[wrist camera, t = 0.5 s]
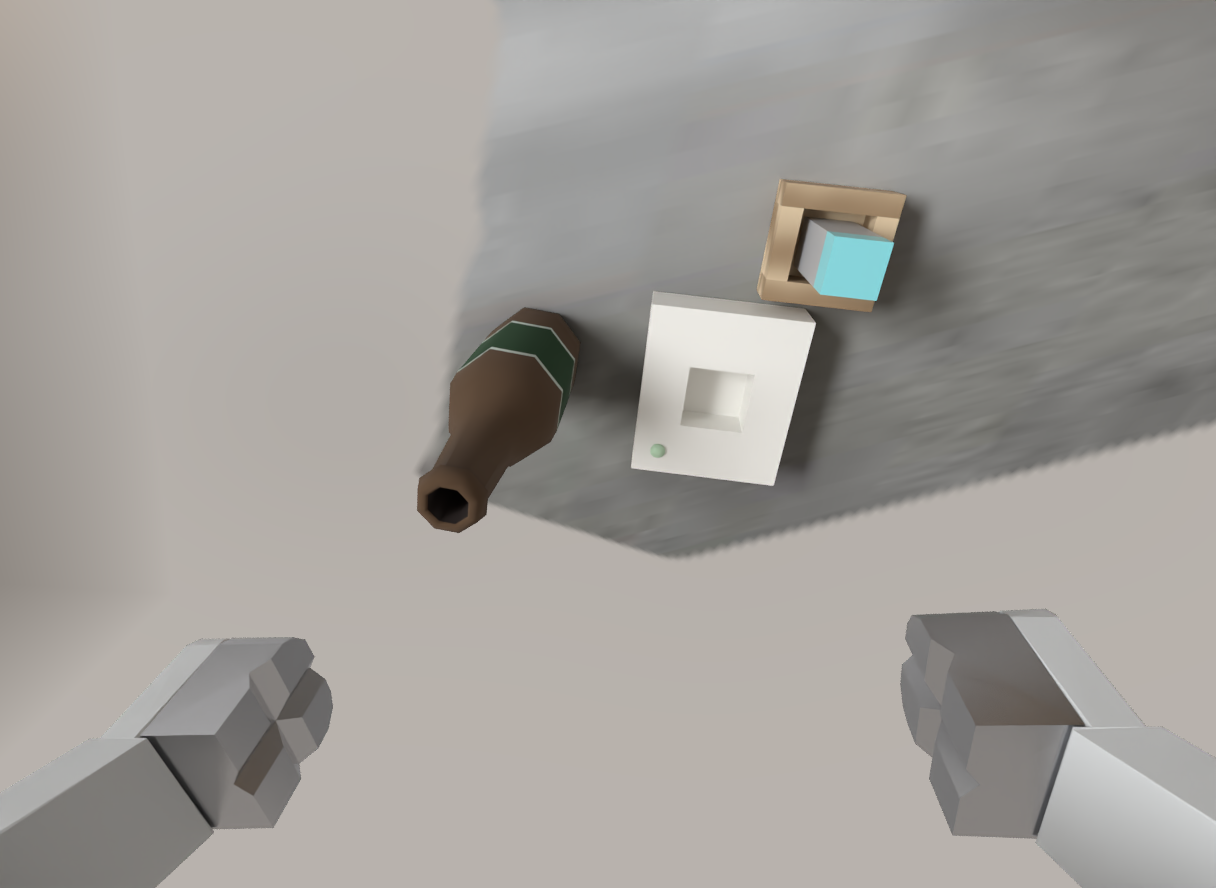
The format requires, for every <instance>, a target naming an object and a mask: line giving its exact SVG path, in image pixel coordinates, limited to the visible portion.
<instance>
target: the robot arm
mask: <svg viewBox="0 0 1216 888" xmlns="http://www.w3.org/2000/svg"><path fill="white" fill-rule="evenodd" d="M905 639H906V641H907V644H908V646H909V648H910V650H911V652H912V656H911V657H910V658H909V659H908V660H907V661H906V662H904V663H903V664H902V671H901V683H900V685H901V694H902V703H903V708H904V712H905V716H906V719H907V723H908V726H909V728H910V731H911V734H912V736H913V739H914V742H915V744H916V745H918V746H919V747H920V748H921V749H923V750H924V751H925V752H926V753H927V754H929V755H930V756H931V757H932V764H931V770H930V777H929V779H930V782H931V784H932V786H933V789H934V791H935V794H936V796H937V799H938V801H939V803H940V806H941V808H942V811H943V813H944V816H945V818H946V821H947V823H948V825H949V828H950V830H951V833H952V835H955V836H957V835H958V836H981V837H1007V838H1034V839H1036V844H1037V845H1038V846H1039V847H1040V848H1042V849H1043V850H1044V851H1045V852H1046V853H1047V854H1048V855H1049V856H1050V857H1051V858H1052V859H1053V860H1054V861H1055V862H1056V863H1057V864H1058V865H1059V866H1060V867H1061V868H1062V869H1063V870H1064V871H1065V872H1066V873H1068V874H1069V875H1070V877H1071V878H1073V879H1074V880H1075V881H1076V882H1077V883H1078V884H1079V885H1080V886H1081V887H1082V888H1216V758H1215V757H1214V756H1212V755H1210V754H1209V753H1207V752H1205V751H1203V750H1202V749H1200V748H1198V747H1197V746H1195V745H1193V744H1191V743H1190V742H1188V741H1186V740H1185V739H1183V738H1181V737H1179V736H1178V735H1176V734H1174V733H1173V732H1171V731H1169V730H1167V729H1166V728H1164V727H1152V726H1146V725H1145V724H1144V723H1143V722H1142V720H1141V719H1140V718H1139V717H1138V716H1137V714H1136V713H1135V712H1134V711H1133V709H1132V708H1131V707H1130V706H1129V705H1128V703H1127V702H1126V701H1125V699H1124V698H1123V697H1122V696H1121V695H1120V693H1119V692H1118V691H1117V690H1116V688H1115V687H1114V686H1113V685H1112V683H1111V682H1110V681H1109V680H1108V678H1107V677H1106V676H1105V675H1104V673H1103V672H1102V671H1101V670H1100V668H1099V667H1098V666H1097V665H1096V664H1095V662H1094V661H1093V660H1092V659H1091V657H1090V656H1089V655H1088V654H1087V652H1086V651H1085V650H1084V649H1083V648H1082V646H1081V645H1080V644H1079V643H1078V641H1077V640H1076V639H1075V638H1074V636H1073V635H1072V634H1071V633H1070V631H1069V630H1068V629H1067V628H1066V626H1065V625H1064V624H1063V623H1062V621H1061V620H1060V619H1059V618H1058V617H1057V615H1056V614H1054V613H1052V612H1050V611H1049V610H1047V609H1031V610H1011V611H1000V612H994V611H993V612H971V613H949V614H926V615H912V616H911V618H910V620H909V621H908V623H907V630H906V637H905ZM313 659H314V655H313V653H312V651H311V649H310V648H309V646H308V644H307V642H306V641H305V639H299V638H294V637H284V638H283V637H278V638H276V637H274V638H231V639H199V640H197V641H195V642H193V643H191V644H189V645H186V647H185V648H184V649H183V650H182V651H181V652H180V653H179V654H178V655H177V656H176V657H175V658H174V659H173V661H172V662H171V663H170V664H169V665H168V666H167V667H166V668H165V669H164V670H163V671H162V672H161V673H160V674H159V676H158V677H157V678H156V679H155V680H154V681H153V682H152V683H151V684H150V685H149V686H148V687H147V688H146V690H145V691H144V692H143V693H142V694H141V695H140V696H139V697H138V698H137V699H136V700H135V701H134V702H133V704H131V706H130V707H129V708H128V709H127V710H126V711H125V712H124V713H123V714H122V715H121V716H120V717H119V718H118V719H117V720H116V722H115V723H114V724H113V725H112V726H111V727H110V728H109V729H108V730H107V731H106V732H105V733H104V734H103V735H102V737H101V738H92V739H88V740H86V741H85V742H83V743H81V744H80V745H78V746H76V747H75V748H73V749H71V750H70V751H68V752H67V753H65V754H63V755H62V756H60V757H58V758H57V759H55V760H53V761H52V762H50V763H48V764H47V765H45V766H43V767H42V768H40V769H38V770H37V771H35V772H33V773H32V774H30V775H28V776H27V777H25V778H23V779H22V780H20V781H18V782H17V783H15V784H14V785H12V786H10V787H9V788H7V789H5V790H4V791H2V792H0V888H155V887H157V885H159V884H160V883H161V882H162V881H163V880H164V879H165V878H166V877H167V876H168V875H169V874H170V873H171V872H173V871H174V870H175V869H176V868H177V867H178V866H179V865H180V864H181V863H182V862H183V861H184V860H185V859H187V857H189V856H190V855H191V854H192V853H193V852H194V851H195V850H196V849H197V848H198V847H199V846H200V845H201V844H203V843H204V842H205V841H206V840H207V839H208V838H209V837H210V836H211V835H212V834H213V833H214V831H213V830H212V829H242V828H243V829H244V828H274V826H275V824H276V822H277V821H278V819H279V817H280V815H281V813H282V812H283V810H284V808H285V807H286V805H287V803H288V801H289V799H290V798H291V796H292V794H293V792H294V791H295V789H296V787H297V785H298V783H299V782H300V780H301V774H300V765H299V763H301V762H302V761H303V760H304V759H306V758H307V757H308V756H309V755H311V754H312V753H313V752H314V751H316V750H317V749H318V747H319V745H320V744H321V742H322V740H323V738H324V736H325V734H326V733H327V731H328V728H329V724H330V718H331V714H332V709H333V704H332V696H331V691H330V689H329V686H328V684H327V682H326V680H325V679H324V678H323V677H322V676H320V675H319V674H318V673H316V672H315V671H313V670H312V669H311V668H310V667H311V664H312V662H313Z"/></svg>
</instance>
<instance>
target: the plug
mask: <svg viewBox="0 0 1216 888" xmlns="http://www.w3.org/2000/svg"><path fill="white" fill-rule="evenodd" d="M893 245H894V242H892V241H890V240H888V239H886V238H884V237H882V236H880V235H878V234H876V233H874V232H872V231H870V230H869V229H867V228H865V227H863V226H861V225H859V224H857V223H855V222H852V221H843V220H834V219H825V218H816V217H806V216H805V218H804V223H803V227H802V231H801V236H800V240H799V244H798V249H797V253H796V257H795V261H794V266H795V267H796V268H797V270H798V271H799V272H800V273H801V274H802V275H803V276H804V277H805V278H806V279H807V281H808V282H809V283H810V284H811V285H812V286H813V287H814V288H815V289H816V291H817V292H818V293H819V294H820V295H829V296H837V297H846V298H855V299H864V300H873V301H877V298H878V295H879V291H880V288H881V285H882V281H883V278H884V275H885V272H886V268H887V265H888V262H889V258H890V255H891V252H892V248H893Z"/></svg>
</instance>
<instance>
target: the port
mask: <svg viewBox="0 0 1216 888" xmlns="http://www.w3.org/2000/svg"><path fill="white" fill-rule="evenodd" d="M815 325H816V322H815V321H814V320H813V318H812V317H811V316H810V314H809V313H808V312H807V310H806V309H805V308H796V307H788V306H779V305H770V304H761V303H753V302H744V301H735V300H727V299H718V298H709V297H700V296H692V295H683V294H674V293H666V292H657V291H653V296H652V304H651V312H650V319H649V327H648V335H647V343H646V351H645V358H644V366H643V374H642V382H641V390H640V397H639V405H638V413H637V421H636V429H635V437H634V444H633V453H632V463H631V468H634V469H642V470H650V471H658V472H666V473H674V474H682V475H690V476H698V477H706V478H714V479H722V480H731V481H739V482H747V483H755V484H763V485H771V486H774V482H775V478H776V475H777V471H778V467H779V463H780V459H781V455H782V452H783V448H784V444H785V440H786V436H787V432H788V429H789V425H790V421H791V417H792V413H793V409H794V406H795V402H796V398H797V394H798V390H799V386H800V383H801V379H802V375H803V371H804V367H805V363H806V360H807V356H808V352H809V348H810V344H811V340H812V337H813V333H814V329H815Z"/></svg>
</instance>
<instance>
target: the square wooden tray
mask: <svg viewBox="0 0 1216 888" xmlns="http://www.w3.org/2000/svg"><path fill="white" fill-rule="evenodd" d="M906 196H907V195H904V194H900V193H897V192H893V191H887V190H877V189H868V188H859V187H850V186H840V185H831V184H822V183H813V182H803V181H794V180H785V179H780V181H779V186H778V190H777V195H776V200H775V205H774V210H773V214H772V219H771V224H770V229H769V234H768V238H767V243H766V248H765V253H764V258H763V262H762V267H761V272H760V277H759V282H758V286H757V291H758V293H759V295H760V297H761V299H762V300H769V301H778V302H786V303H795V304H804V305H812V306H821V307H830V308H839V309H847V310H856V311H865V312H872V308H873V305H874V302H875V301H873V300H864V299H855V298H846V297H837V296H829V295H820V294H819V293H818V292H817V291H816V289H815V288H814V287H813V286H812V285H811V284H810V283H809V282H808V281H807V279H806V278H805V277H804V276H803V275H802V274H801V273H800V272H799V271H798V270H797V268H796V267H795V266H794V261H795V257H796V253H797V249H798V244H799V240H800V236H801V231H802V227H803V223H804V218H805V216H806V217H816V218H825V219H834V220H843V221H852V222H855V223H857V224H859V225H861V226H863V227H865V228H867V229H869V230H870V231H872V232H874V233H876V234H878V235H880V236H882V237H884V238H886V239H888V240H890V241H892V242H893V239H894V235H895V232H896V229H897V226H898V222H899V219H900V216H901V212H902V209H903V206H904V202H905V199H906Z"/></svg>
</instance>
